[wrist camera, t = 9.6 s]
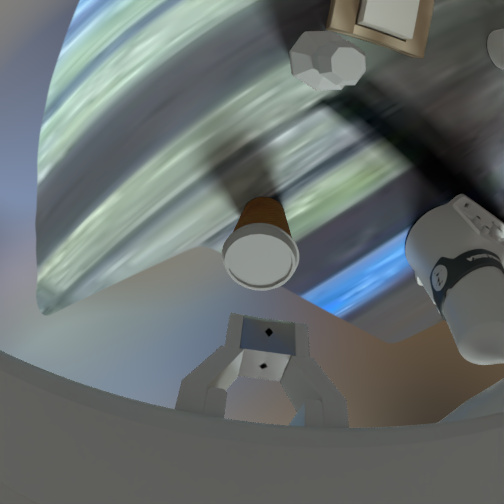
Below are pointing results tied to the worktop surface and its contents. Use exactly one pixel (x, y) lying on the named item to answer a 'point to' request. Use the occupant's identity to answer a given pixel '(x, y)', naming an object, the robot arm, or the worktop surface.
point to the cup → (496, 47)
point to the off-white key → (389, 16)
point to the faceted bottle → (326, 61)
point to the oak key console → (344, 23)
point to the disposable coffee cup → (261, 247)
